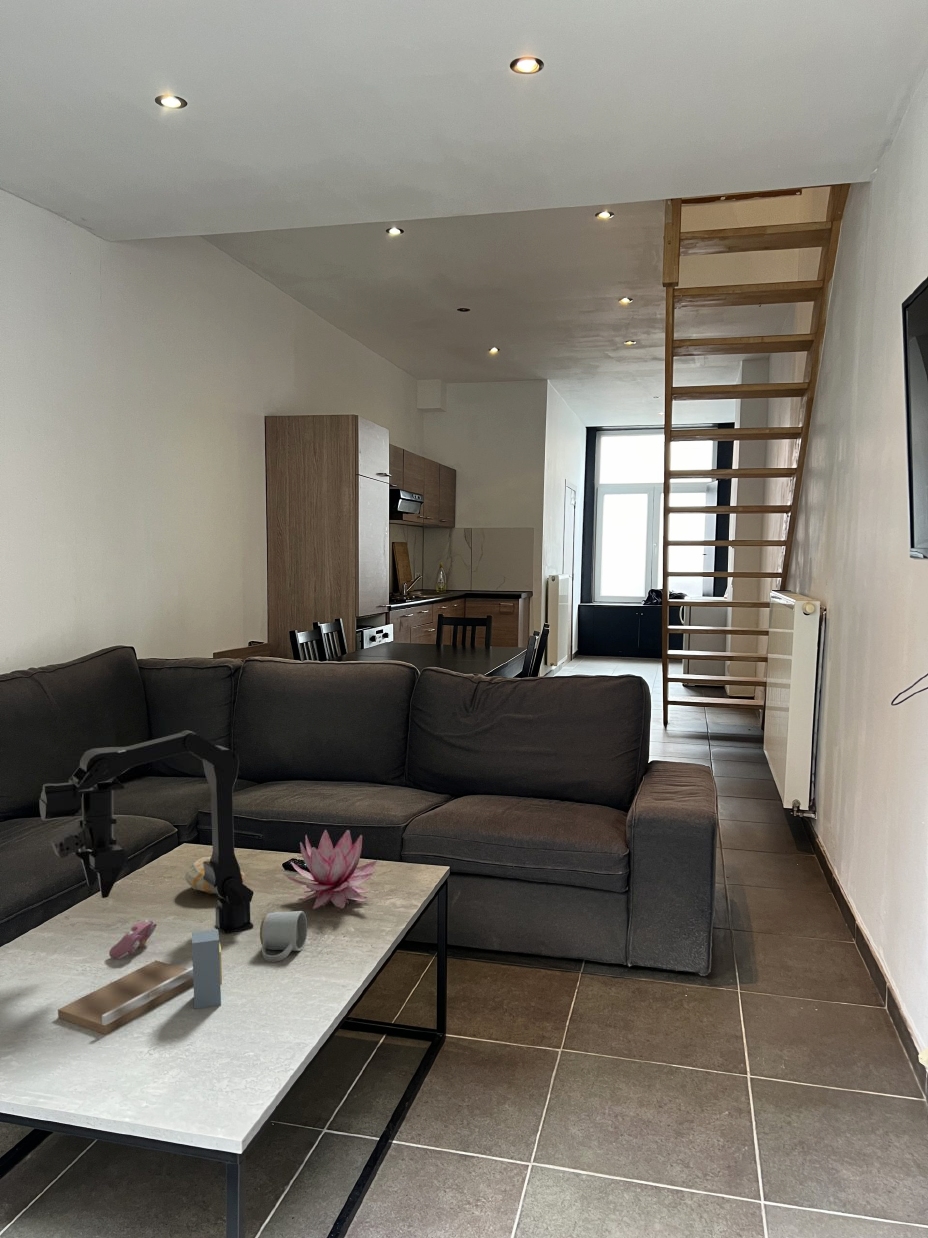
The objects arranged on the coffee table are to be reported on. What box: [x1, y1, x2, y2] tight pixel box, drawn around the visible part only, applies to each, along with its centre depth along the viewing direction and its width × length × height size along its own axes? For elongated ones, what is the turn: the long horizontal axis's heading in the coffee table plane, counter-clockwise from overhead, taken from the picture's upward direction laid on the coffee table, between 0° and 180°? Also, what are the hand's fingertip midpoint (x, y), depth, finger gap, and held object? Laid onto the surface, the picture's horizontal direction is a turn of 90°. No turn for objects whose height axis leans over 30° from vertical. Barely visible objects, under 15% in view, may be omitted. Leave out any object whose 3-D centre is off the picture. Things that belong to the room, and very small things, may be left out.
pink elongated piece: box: [109, 918, 157, 960], centre depth 184 cm, size 10×5×7 cm, turn 169°
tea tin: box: [191, 928, 223, 1010], centre depth 162 cm, size 5×5×12 cm
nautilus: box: [183, 855, 246, 895], centre depth 220 cm, size 8×22×15 cm
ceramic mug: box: [259, 910, 308, 963], centre depth 183 cm, size 11×8×8 cm
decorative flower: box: [284, 829, 379, 910], centre depth 210 cm, size 21×21×15 cm
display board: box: [57, 959, 194, 1035], centre depth 163 cm, size 22×12×3 cm, turn 151°
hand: (97, 891), depth 178 cm, fingers open, 9 cm apart
